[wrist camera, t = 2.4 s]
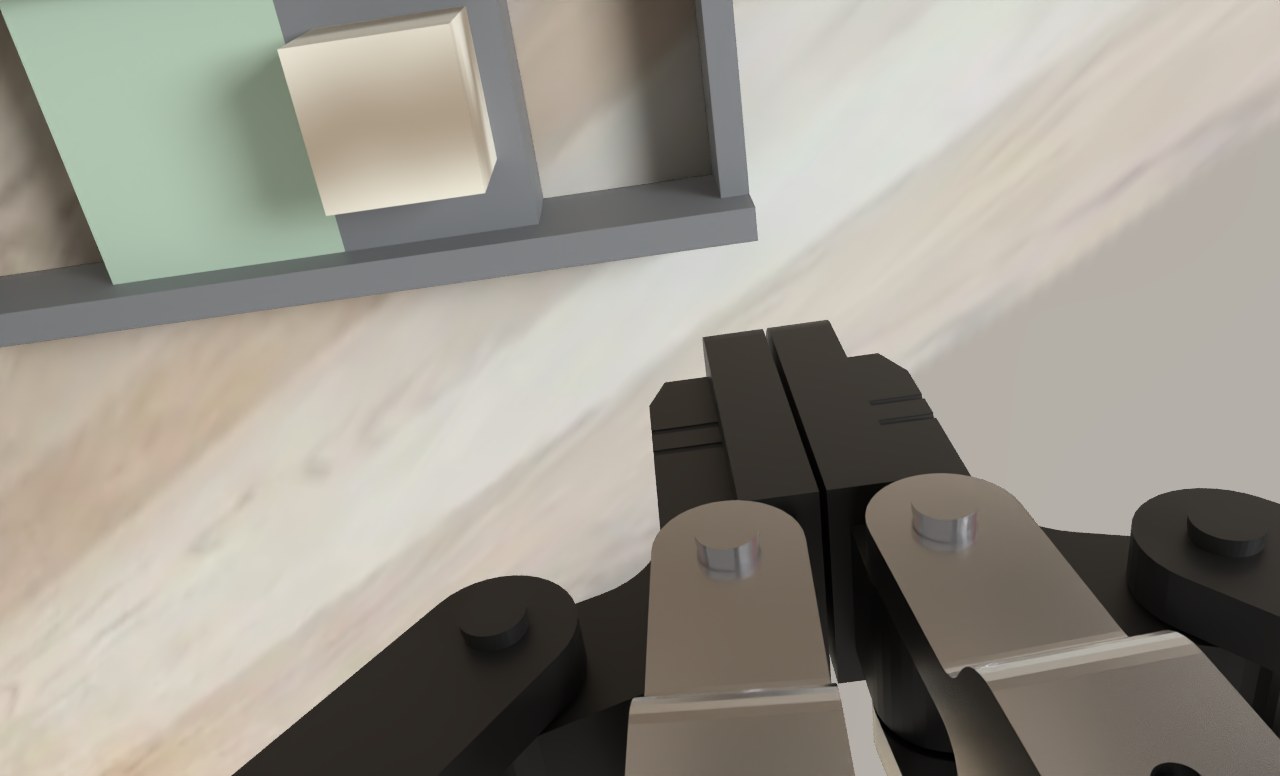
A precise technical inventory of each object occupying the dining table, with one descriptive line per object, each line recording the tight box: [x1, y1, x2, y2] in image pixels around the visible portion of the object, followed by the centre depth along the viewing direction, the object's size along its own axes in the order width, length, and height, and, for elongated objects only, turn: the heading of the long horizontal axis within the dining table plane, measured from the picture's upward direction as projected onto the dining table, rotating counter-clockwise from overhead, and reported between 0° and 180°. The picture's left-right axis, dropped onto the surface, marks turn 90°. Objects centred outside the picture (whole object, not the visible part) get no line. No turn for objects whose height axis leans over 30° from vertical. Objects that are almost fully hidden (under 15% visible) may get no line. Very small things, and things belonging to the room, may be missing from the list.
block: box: [277, 6, 497, 216], centre depth 32 cm, size 5×5×4 cm
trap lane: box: [0, 0, 758, 347], centre depth 34 cm, size 12×30×4 cm, turn 98°
